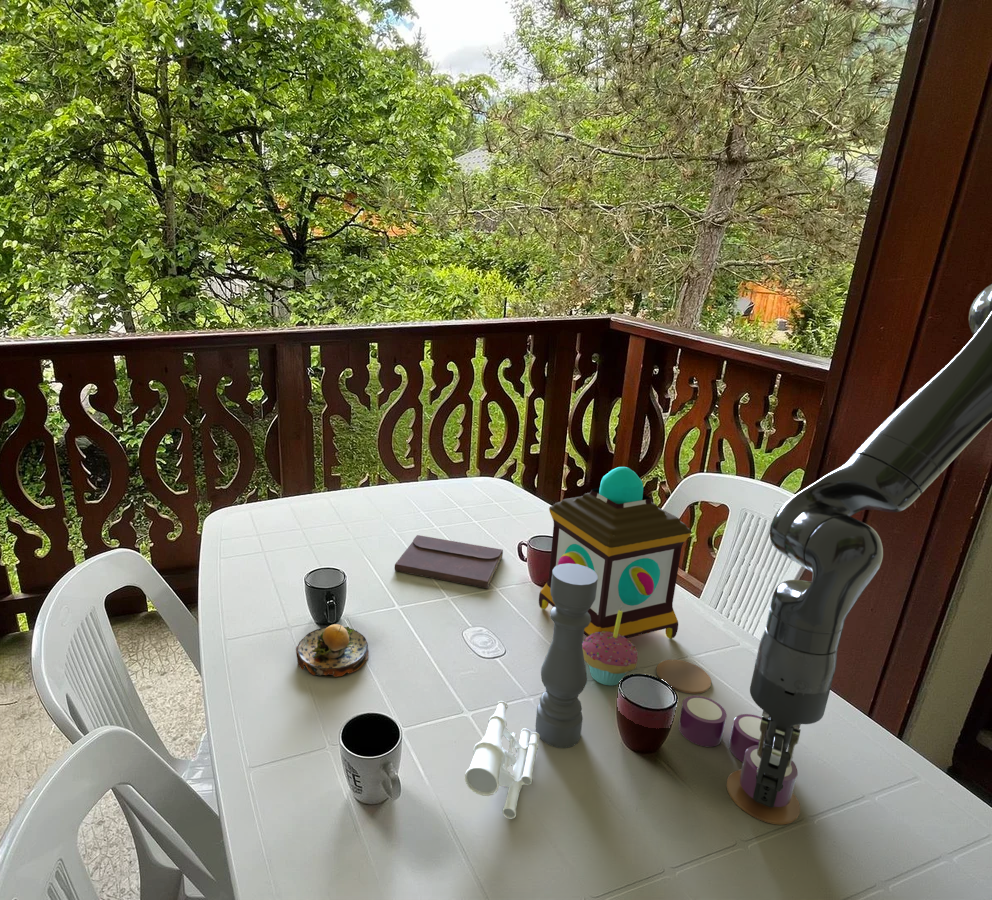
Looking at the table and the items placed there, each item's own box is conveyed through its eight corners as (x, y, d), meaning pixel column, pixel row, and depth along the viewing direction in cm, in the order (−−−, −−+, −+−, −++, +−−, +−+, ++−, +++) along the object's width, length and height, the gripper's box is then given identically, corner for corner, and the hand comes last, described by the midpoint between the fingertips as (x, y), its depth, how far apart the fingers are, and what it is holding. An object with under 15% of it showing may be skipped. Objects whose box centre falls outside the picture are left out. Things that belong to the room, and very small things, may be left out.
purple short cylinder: (792, 783, 79) (799, 757, 78) (789, 815, 75) (796, 788, 74) (742, 763, 82) (748, 738, 81) (736, 792, 78) (742, 766, 77)
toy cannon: (514, 744, 89) (544, 730, 87) (496, 826, 77) (529, 812, 74) (477, 702, 89) (506, 686, 87) (453, 777, 77) (485, 761, 74)
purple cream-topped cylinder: (724, 728, 90) (729, 705, 89) (718, 753, 86) (723, 728, 85) (682, 712, 93) (687, 689, 92) (674, 735, 89) (678, 711, 88)
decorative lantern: (613, 586, 128) (631, 444, 118) (688, 642, 110) (717, 479, 101) (527, 605, 121) (539, 455, 112) (593, 667, 103) (614, 495, 94)
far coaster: (714, 673, 102) (715, 671, 102) (705, 701, 96) (706, 698, 96) (662, 655, 106) (662, 653, 106) (650, 680, 100) (650, 678, 100)
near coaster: (801, 790, 80) (802, 788, 80) (797, 836, 74) (798, 834, 74) (731, 762, 84) (731, 759, 84) (721, 803, 78) (722, 800, 78)
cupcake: (595, 653, 107) (603, 590, 103) (644, 676, 101) (654, 611, 97) (568, 676, 101) (575, 610, 97) (618, 702, 95) (628, 633, 92)
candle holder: (526, 732, 89) (541, 574, 82) (549, 709, 94) (564, 557, 86) (566, 755, 85) (586, 591, 78) (588, 730, 90) (608, 573, 82)
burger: (358, 629, 113) (358, 592, 110) (377, 670, 102) (377, 630, 100) (291, 641, 109) (289, 603, 107) (303, 685, 99) (301, 643, 96)
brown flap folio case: (487, 589, 126) (487, 580, 126) (394, 571, 133) (394, 562, 132) (502, 556, 140) (503, 548, 139) (417, 541, 146) (417, 533, 146)
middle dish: (777, 748, 87) (783, 724, 86) (773, 775, 82) (779, 750, 81) (731, 731, 90) (736, 707, 89) (725, 756, 85) (730, 731, 84)
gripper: (762, 629, 81) (739, 737, 86) (748, 691, 70) (723, 811, 75) (833, 650, 77) (804, 762, 82) (830, 719, 66) (797, 844, 71)
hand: (765, 784), depth 78 cm, fingers closed on purple short cylinder, 5 cm apart
